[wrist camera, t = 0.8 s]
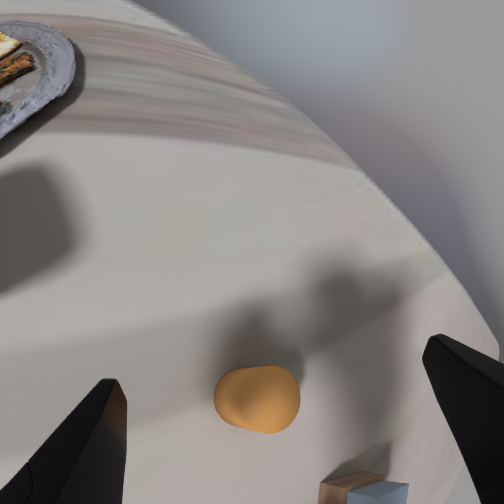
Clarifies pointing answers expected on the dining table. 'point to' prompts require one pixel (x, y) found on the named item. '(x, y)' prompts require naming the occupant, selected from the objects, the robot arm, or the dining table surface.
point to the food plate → (50, 62)
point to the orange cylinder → (258, 398)
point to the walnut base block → (345, 487)
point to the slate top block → (379, 493)
